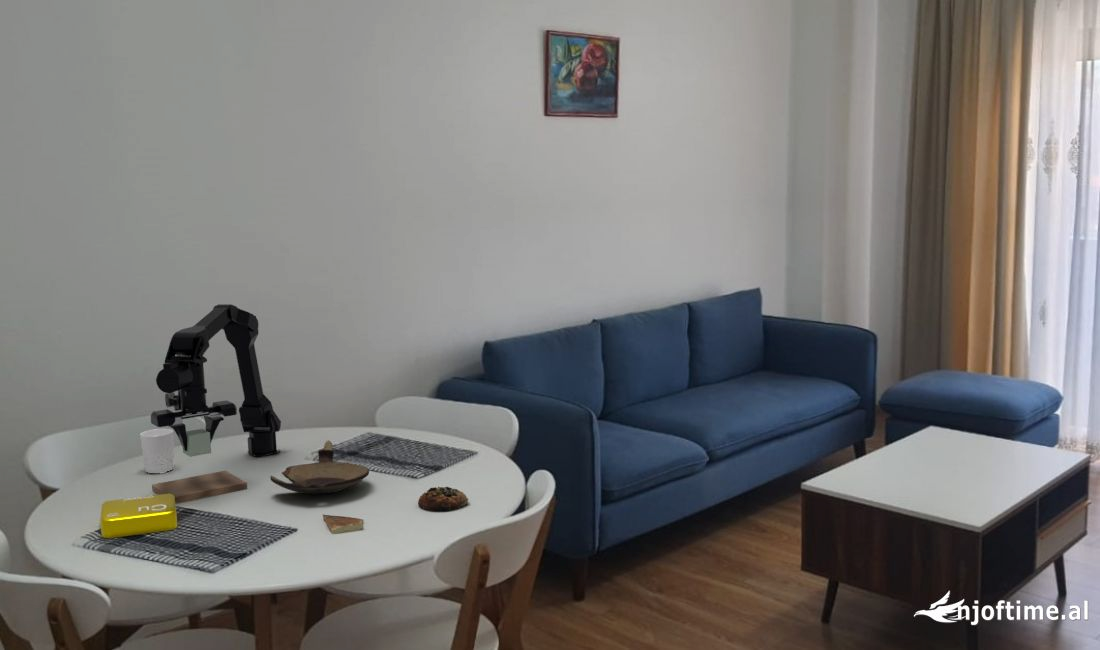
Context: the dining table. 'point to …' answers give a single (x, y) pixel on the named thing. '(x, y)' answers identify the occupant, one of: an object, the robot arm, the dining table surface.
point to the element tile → (138, 515)
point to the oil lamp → (322, 474)
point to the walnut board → (200, 486)
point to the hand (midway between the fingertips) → (196, 448)
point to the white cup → (157, 450)
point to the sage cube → (198, 442)
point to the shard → (343, 523)
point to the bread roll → (442, 499)
